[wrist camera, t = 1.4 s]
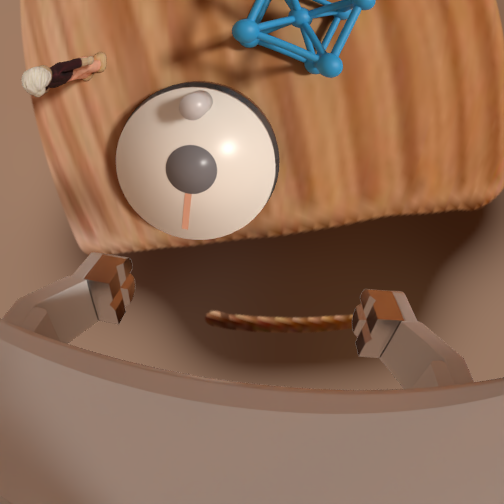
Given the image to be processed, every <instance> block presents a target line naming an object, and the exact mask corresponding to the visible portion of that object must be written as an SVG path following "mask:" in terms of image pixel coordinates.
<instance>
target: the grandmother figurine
mask: <svg viewBox="0 0 504 504" xmlns="http://www.w3.org/2000/svg"><path fill="white" fill-rule="evenodd" d="M105 68H106V55H105V54H104V53H103V52H100V53H97V54H95V55H94V56H93V57H92V56H89V57H86V56H84V57H80V58H77V59H73V60H71V61H66V62H59V63H57V64H55V65H54V66H52V67H50V68H49V67H48V66H45V65H42V66H38V67H33V68H31V69H29V70H27V71H25V72H24V73H23V75H22V86H23V88H24V89H25V91H26V92H28V93H29V94H30V95H34V96H35V97H40V96H42V95H43V94H44V93H47V92H48V91H49V89H50V88H55V87H58V86H60V85H63V84H65V83H66V82H69V81H72V80H76V79H83V80H84V81H88V80H90V79H91V78H92V76H93V72H98V73H100V72H103V71H104V70H105Z"/></svg>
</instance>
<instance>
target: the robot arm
mask: <svg viewBox="0 0 504 504" xmlns="http://www.w3.org/2000/svg"><path fill="white" fill-rule="evenodd" d="M132 269H133V266H132V261H131V259H130V258H126V257H121V256H116V255H110V254H104V253H98V252H92V253H91V254H90V255H89V256H88V257H87V258H86V260H85V261H84V262H83V263H82V264H81V265H80V267H79V268H78V269H77V270H76V271H75V273H74V274H73V275H72V276H67V277H64V278H62V279H60V280H58V281H56V282H54V283H51V284H49V285H47V286H45V287H43V288H41V289H38V290H36V291H34V292H32V293H30V294H28V295H26V296H24V297H21V298H19V299H18V300H17V301H16V302H15V303H14V305H13V306H12V307H11V308H10V310H9V311H8V312H7V313H6V314H5V316H4V317H3V318H2V319H0V504H504V377H503V378H497V379H491V380H486V381H479V382H474V381H473V378H472V376H471V374H470V371H469V369H468V367H467V364H466V362H465V360H464V358H463V357H462V356H460V355H459V354H458V353H457V352H456V351H455V350H453V349H452V348H451V347H450V346H449V345H447V344H446V343H445V342H444V341H443V340H442V339H440V338H439V337H438V336H437V335H436V334H435V333H433V332H432V331H431V330H430V329H429V328H427V327H426V326H425V325H424V324H422V323H421V322H417V320H416V318H415V315H414V313H413V311H412V309H411V307H410V304H409V302H408V300H407V298H406V296H405V294H404V293H403V292H399V291H382V290H371V289H364V290H363V292H362V294H361V296H360V300H361V304H360V305H358V306H357V307H356V308H355V311H354V314H353V319H352V329H353V333H354V334H355V335H356V336H357V337H358V338H357V340H356V342H355V343H356V347H357V352H358V356H359V357H376V358H380V360H381V361H382V362H383V363H384V365H385V366H386V367H387V368H388V369H389V371H390V372H391V373H392V374H393V376H394V377H395V378H396V380H397V381H398V382H399V383H400V385H401V386H402V387H403V388H404V389H389V390H388V389H387V390H332V389H331V390H330V389H310V388H293V387H281V386H269V385H260V384H250V383H243V382H234V381H228V380H221V379H214V378H208V377H202V376H195V375H190V374H184V373H179V372H174V371H169V370H164V369H159V368H155V367H150V366H146V365H142V364H137V363H133V362H129V361H125V360H121V359H117V358H113V357H110V356H106V355H102V354H99V353H96V352H92V351H89V350H85V349H82V348H79V347H76V346H73V345H69V344H68V343H69V342H71V341H72V340H73V339H75V338H76V337H77V336H79V335H80V334H81V333H83V332H84V331H86V330H87V329H88V328H90V327H91V326H92V325H94V324H95V323H97V322H98V320H99V321H104V322H108V323H114V324H119V323H120V321H121V320H122V318H123V316H124V314H125V312H126V311H125V306H126V305H128V304H130V303H131V301H132V299H133V297H134V293H135V280H134V277H133V276H132V275H131V274H130V272H131V270H132Z"/></svg>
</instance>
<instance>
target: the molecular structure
mask: <svg viewBox="0 0 504 504" xmlns="http://www.w3.org/2000/svg"><path fill="white" fill-rule="evenodd" d="M313 1H315V2H317V3H319V4H322V5H324V6H322V7H319V8H316V9H313V10H310V11H309V10H308V9H306V8H303V7H301V6H300V3H299V1H298V0H285V2H286V3H287V5H288V6H289V8H290V9H291V11H290V12H289V15H288V17H283V18H279V19H275V20H270V21H266V22H262V23H260V22H261V20H262V18H263V16H264V14H265V12H266V10H267V8H268V6H269V4H270V2H271V0H256V1H255V3H254V5H253V7H252V9H251V11H250V13H249V15H248V17H247V19H242V20H239V21H237V22H236V23H235V24H234V26H233V28H232V34H233V37H234V38H235V39H236V40H237V41H239V42H240V44H241V45H242V46H244V47H247V48H252V47H255V46H257V45H261V46H264V47H266V48H269V49H272V50H274V51H277V52H279V53H282V54H284V55H287V56H289V57H292V58H294V59H296V60H299V61H301V62H303V63H304V65H305V68H306V70H307V71H308V72H310V73H312V74H321V75H323V76H325V77H330V78H332V77H336V76H338V75H339V74H340V73H341V71H342V69H343V64H342V61H341V59H340V58H339V57H338V56H339V54H340V52H341V50H342V48H343V46H344V44H345V42H346V40H347V38H348V36H349V34H350V32H351V30H352V28H353V26H354V24H355V22H356V20H357V18H358V16H359V14H360V12H361V10H369V9H371V8H372V7H373V6H374V5H375V0H341V1H338V2H335V3H331V2H329V1H326V0H313ZM352 8H353V9H352ZM351 9H352V10H351ZM329 15H333V16H334V19H333V21H332V23H331V25H330V27H329V29H328V31H327V33H326V35H325V37H324V39H323V41H322V43H321V42H320V41H319V39H318V37H317V36H316V34H315V33H314V31H313V30H312V28H311V26H310V24H311V22H312V18H318V17H323V16H329ZM346 19H347V21H346V23H345V25H344V27H343V29H342V31H341V33H340V35H339V37H338V39H337V41H336V43H335V45H334V47H333V49H332V51H331V53H327V52H326V51H325V50H326V48H327V46H328V44H329V42H330V40H331V38H332V36H333V34H334V32H335V30H336V28H337V26H338V24H339V22H340V20H346ZM291 24H292V25H293V26H295V27H298V28H300V29H301V32H302V35H303V38H304V42H305V45H306V48H307V50H305V49H303V48H300V47H298V46H296V45H293V44H291V43H288V42H286V41H283V40H281V39H278V38H276V37H273V36H270V35H268V33H271V32H273V31H275V30H278V29H280V28H283V27H286V26H288V25H291ZM313 45H314V47H315V49H316V50H317V54H315V51H314V48H313Z"/></svg>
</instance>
